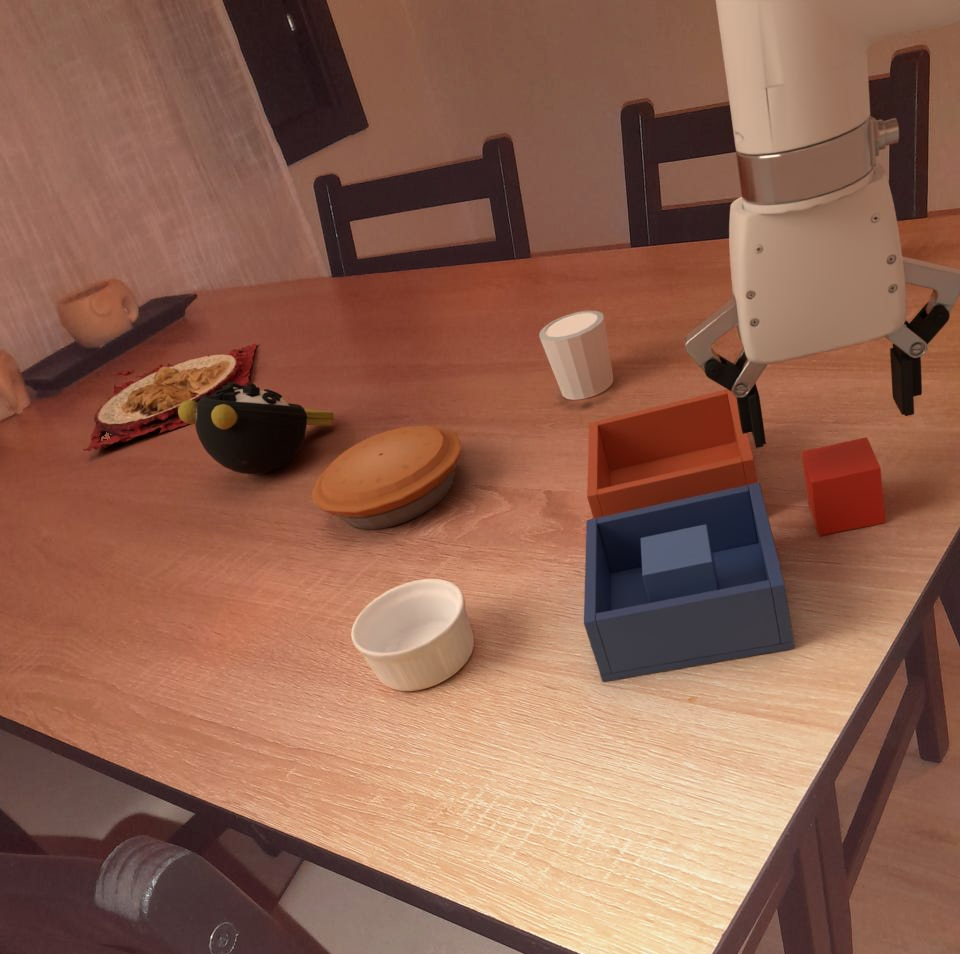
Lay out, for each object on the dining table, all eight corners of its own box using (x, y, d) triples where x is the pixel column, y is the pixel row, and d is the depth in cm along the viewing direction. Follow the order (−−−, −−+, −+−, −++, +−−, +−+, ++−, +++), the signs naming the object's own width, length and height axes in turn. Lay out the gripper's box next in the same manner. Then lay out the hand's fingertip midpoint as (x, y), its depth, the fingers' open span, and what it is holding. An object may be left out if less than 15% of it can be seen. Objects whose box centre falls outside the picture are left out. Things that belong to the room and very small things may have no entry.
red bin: (745, 441, 85) (736, 386, 82) (763, 517, 75) (753, 458, 72) (602, 474, 88) (588, 423, 85) (602, 551, 79) (586, 496, 76)
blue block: (717, 577, 70) (706, 523, 68) (723, 615, 67) (712, 561, 64) (653, 589, 71) (640, 537, 69) (656, 628, 68) (642, 575, 65)
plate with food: (89, 463, 137) (76, 441, 135) (118, 393, 158) (107, 374, 156) (248, 407, 135) (237, 384, 133) (256, 344, 156) (247, 323, 154)
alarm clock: (350, 479, 114) (294, 396, 101) (236, 520, 116) (167, 444, 103) (337, 405, 120) (282, 317, 107) (229, 445, 122) (162, 364, 109)
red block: (871, 490, 74) (866, 436, 71) (885, 523, 70) (880, 467, 67) (808, 503, 75) (801, 451, 72) (818, 536, 71) (811, 482, 69)
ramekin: (486, 677, 71) (467, 631, 68) (370, 712, 72) (348, 668, 69) (477, 609, 78) (459, 565, 75) (372, 641, 79) (352, 599, 76)
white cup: (560, 379, 108) (543, 318, 104) (622, 365, 106) (606, 303, 102) (552, 408, 103) (533, 345, 99) (616, 394, 100) (600, 330, 96)
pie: (366, 562, 89) (345, 516, 87) (304, 514, 101) (283, 473, 99) (502, 480, 94) (486, 434, 91) (426, 444, 106) (410, 402, 103)
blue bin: (769, 541, 73) (759, 481, 70) (795, 648, 63) (784, 584, 60) (602, 575, 76) (586, 519, 73) (602, 682, 66) (583, 622, 63)
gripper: (943, 108, 59) (948, 371, 69) (656, 190, 63) (699, 427, 73) (981, 135, 53) (980, 418, 63) (661, 223, 58) (707, 476, 67)
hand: (829, 423), depth 68 cm, fingers open, 9 cm apart
